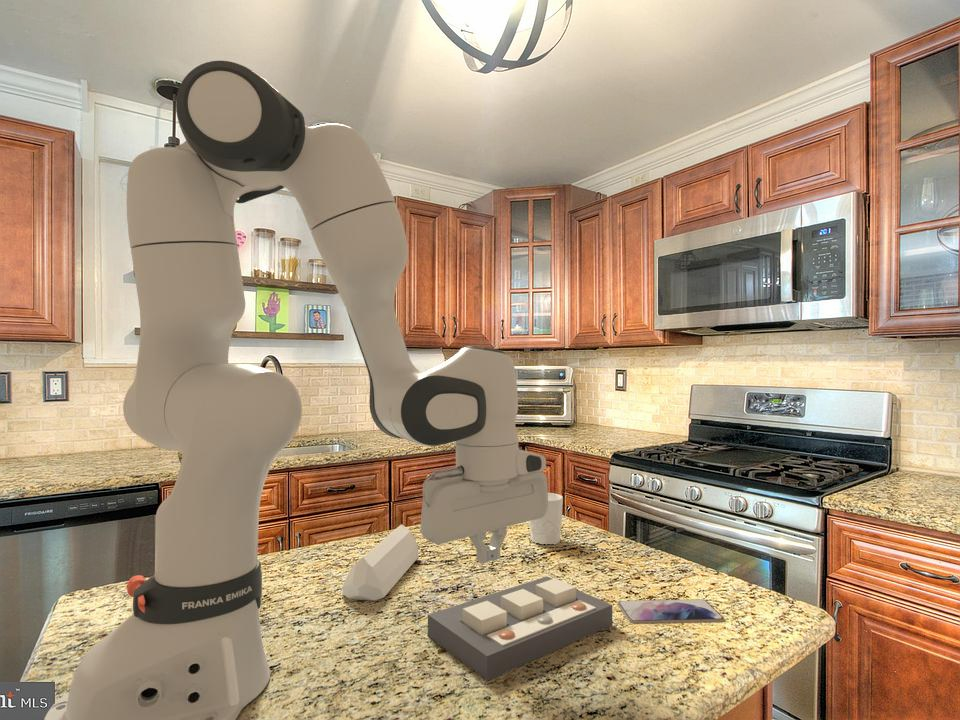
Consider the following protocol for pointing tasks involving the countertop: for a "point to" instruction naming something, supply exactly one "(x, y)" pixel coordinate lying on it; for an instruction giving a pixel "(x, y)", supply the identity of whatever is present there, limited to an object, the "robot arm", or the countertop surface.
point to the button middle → (522, 604)
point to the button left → (484, 617)
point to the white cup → (548, 522)
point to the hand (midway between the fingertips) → (488, 560)
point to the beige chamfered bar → (382, 566)
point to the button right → (556, 592)
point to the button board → (518, 631)
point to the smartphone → (669, 611)
